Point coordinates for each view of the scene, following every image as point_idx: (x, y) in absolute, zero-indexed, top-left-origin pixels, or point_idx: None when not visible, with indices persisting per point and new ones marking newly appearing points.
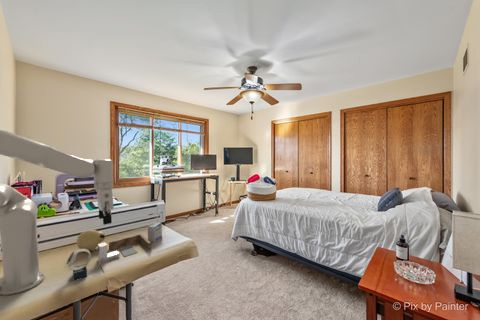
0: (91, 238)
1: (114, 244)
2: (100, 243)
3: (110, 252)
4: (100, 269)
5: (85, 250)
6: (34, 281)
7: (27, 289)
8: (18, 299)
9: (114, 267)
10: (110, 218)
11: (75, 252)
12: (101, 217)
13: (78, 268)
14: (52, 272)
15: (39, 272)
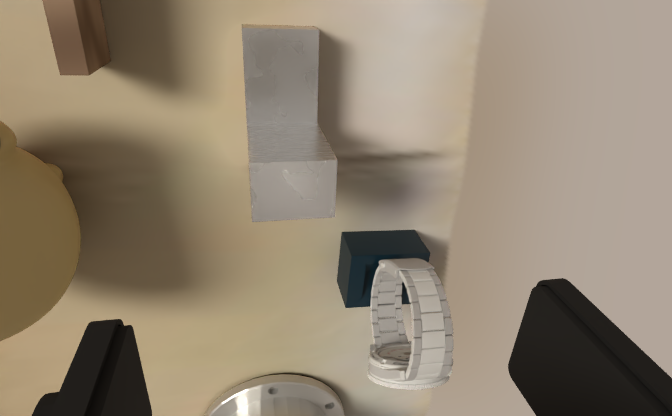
0: (17, 247)
1: (89, 15)
2: (256, 202)
3: (245, 85)
4: (392, 166)
5: (445, 333)
6: (314, 402)
7: (341, 403)
8: (385, 409)
9: (435, 93)
10: (624, 356)
11: (425, 378)
12: (144, 412)
13: (391, 288)
14: (242, 352)
15: (233, 401)
